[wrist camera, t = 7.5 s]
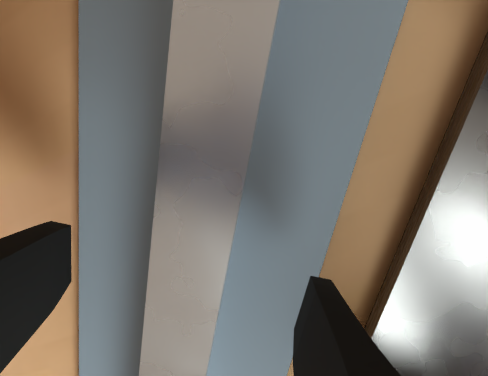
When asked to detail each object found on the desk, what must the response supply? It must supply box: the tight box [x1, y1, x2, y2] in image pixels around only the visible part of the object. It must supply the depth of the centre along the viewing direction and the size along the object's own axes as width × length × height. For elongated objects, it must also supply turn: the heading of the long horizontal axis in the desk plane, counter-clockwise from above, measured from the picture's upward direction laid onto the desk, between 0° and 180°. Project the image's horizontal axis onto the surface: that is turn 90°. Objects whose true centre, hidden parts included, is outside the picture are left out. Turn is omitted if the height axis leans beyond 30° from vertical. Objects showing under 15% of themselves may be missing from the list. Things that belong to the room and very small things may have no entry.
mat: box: [79, 0, 408, 376], centre depth 13 cm, size 24×9×1 cm, turn 170°
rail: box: [139, 0, 281, 376], centre depth 12 cm, size 20×2×2 cm, turn 170°
